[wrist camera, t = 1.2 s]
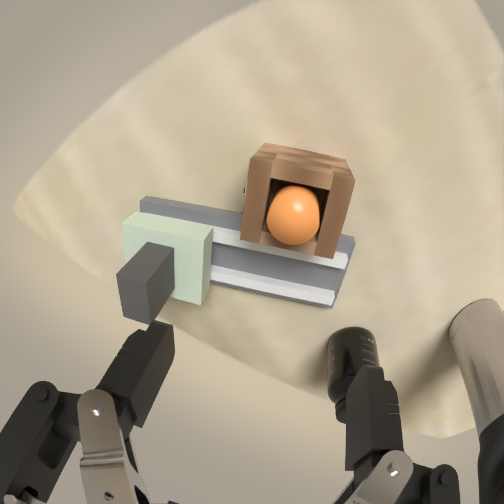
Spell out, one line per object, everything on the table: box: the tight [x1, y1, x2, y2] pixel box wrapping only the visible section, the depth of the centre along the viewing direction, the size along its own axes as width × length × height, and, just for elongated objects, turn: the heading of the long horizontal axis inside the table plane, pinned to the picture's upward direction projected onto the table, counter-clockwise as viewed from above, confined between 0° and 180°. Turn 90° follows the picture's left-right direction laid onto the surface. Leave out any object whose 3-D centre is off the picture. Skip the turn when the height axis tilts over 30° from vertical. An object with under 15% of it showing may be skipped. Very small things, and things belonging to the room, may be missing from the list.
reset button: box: [267, 182, 319, 245], centre depth 23 cm, size 4×4×4 cm
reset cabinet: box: [240, 143, 355, 259], centre depth 27 cm, size 9×7×8 cm
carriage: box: [116, 212, 214, 325], centre depth 29 cm, size 9×8×9 cm
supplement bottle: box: [328, 327, 380, 424], centre depth 34 cm, size 7×7×12 cm
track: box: [140, 196, 355, 309], centre depth 34 cm, size 24×9×3 cm, turn 82°
